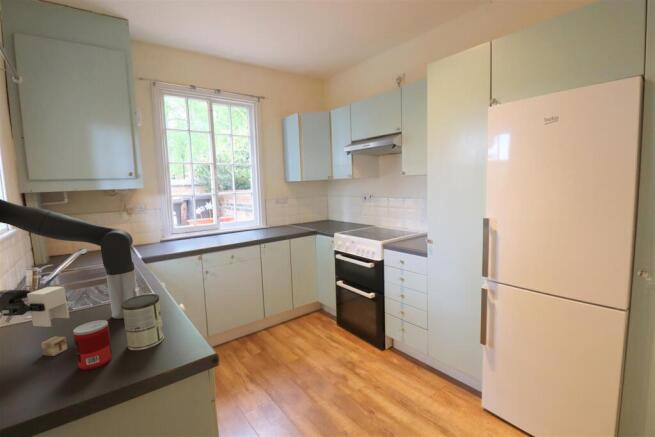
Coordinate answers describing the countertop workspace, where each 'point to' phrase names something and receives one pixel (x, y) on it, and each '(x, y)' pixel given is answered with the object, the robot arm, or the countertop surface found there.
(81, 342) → the canned food
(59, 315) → the cover
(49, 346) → the letter block
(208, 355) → the countertop surface
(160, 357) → the countertop surface
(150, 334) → the coffee can
